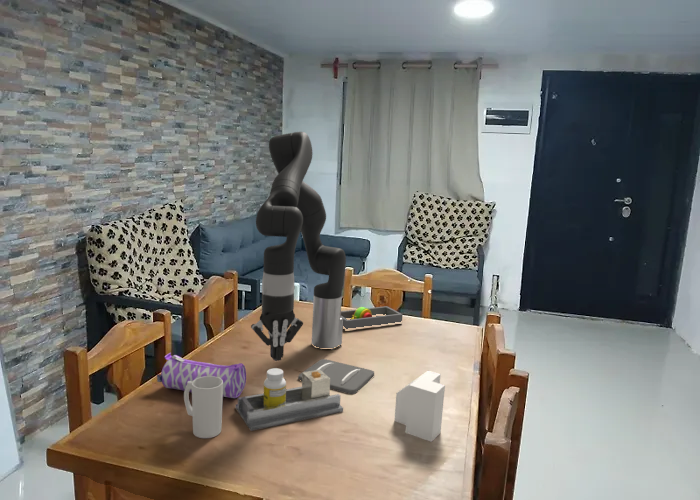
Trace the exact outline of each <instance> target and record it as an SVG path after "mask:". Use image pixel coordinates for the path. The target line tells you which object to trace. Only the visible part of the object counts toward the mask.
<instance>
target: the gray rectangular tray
mask: <svg viewBox="0 0 700 500" xmlns="http://www.w3.org/2000/svg"><path fill="white" fill-rule="evenodd" d="M368 309H369V310H370V311H371V313H372V315H376V314H386V315H385V316H376V317H368V318H359V319H351V320H347V319H346V318H352V315H354V312H355V311H356V310H357V309H349V310H341V318H342V319H343V326H344V327H345V328H346V329H348V328H356V327H364V326H372V325H381V324H388V323H395V322H401V321H402V322H403V313H401V312H398V311H397V310H396V309H394V308H391V307H390V306H387V305H386V306H377V307H368Z"/></svg>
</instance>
